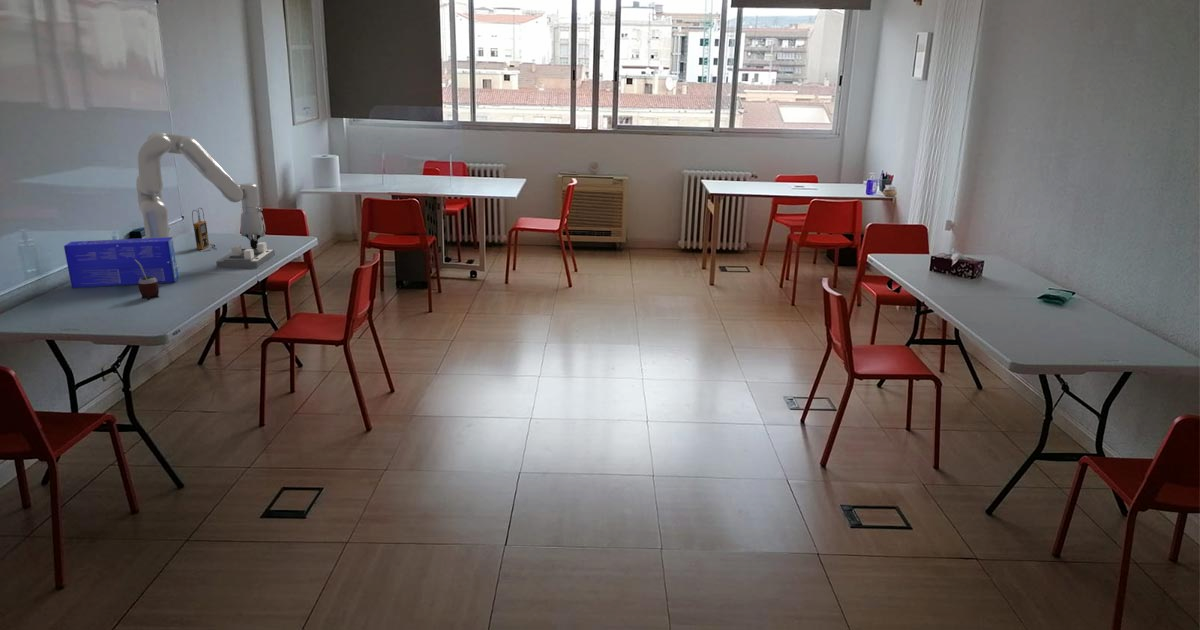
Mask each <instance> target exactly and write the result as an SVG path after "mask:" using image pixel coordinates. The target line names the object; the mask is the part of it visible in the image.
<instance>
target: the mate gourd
mask: <svg viewBox="0 0 1200 630" xmlns="http://www.w3.org/2000/svg"><path fill="white" fill-rule="evenodd" d="M135 261H136V262H137V263H138V264H139V266H140V268H141V270H142V272H143V275H144V277H143V278H140V280H139V282H138V285H137V287H138V289H139V293H140V295H141V299H147V301H149V300H152V298H153V299H154V298H155V299H156V298H157V299H158V298H159V297H160V296H159V293H160V292H159V291H160V287H159V286H160V285H159V284H160V283H158V281H157V279H156V278H155V277H146V275H145V273H144V271H143V268H142V265H141V264H140V263H139V262H138V261H137V260H136V259H135Z"/></svg>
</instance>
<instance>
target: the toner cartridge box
mask: <svg viewBox="0 0 1200 630" xmlns="http://www.w3.org/2000/svg"><path fill="white" fill-rule="evenodd" d="M63 248H64V255H65V259H66V265H67V270H68V275H69V281H70V285H71V288H72V289H85V288H86V289H87V288H101V287H102V288H103V287H122V286H138V282H139V280H140V278H143V277H144V275H143V272H142V270H141V268H140V266H139V264H138V263H137V262H136V261H135V259H136V260H137V261H138V262H139V263H140V264H141V265H142V268H143V271H144V273H145V275H146V277H155V278H156V279H157V281H158V284H168V283H169V284H170V283H171V284H174V283H176V282H177V280H179V272H178V271H179V270H178V268H177V264H178V263H177V259H176V252H175V245H174V239H173V237H172V236H170V237H164V238H146V237H144V238H126V239H125V238H124V239H121V238H120V239H102V240H101V239H100V240H82V241H79V240H78V241H77V240H76V241H75V240H74V241H69V242H68V243H67V244H65V245H63Z"/></svg>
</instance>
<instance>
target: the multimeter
mask: <svg viewBox="0 0 1200 630" xmlns="http://www.w3.org/2000/svg"><path fill="white" fill-rule="evenodd" d="M200 209H201V210H202V213H203V214H202V216H203V218H205V214H204V209H203V208H202V207H200ZM194 211H195V212H197V213H198V214H197V218H198V220H197V222H195V223H194V222H192V225H193V231H194V236H195V243H196V250H198V252H200V250H204V249H205V250H204V252H207V251H206V250H207V249H206V248H209V247H208V246H210V245H209V244H210V241H209V235H208V228H207V227H208V226H207V221H206V220H205V219H203V220H202V219H201V216H200V210H199V209H193V210H192V213H191V218H192V220H194V217H193V216H194ZM213 246H214V245H211V248H210V249H208V250H209V251H212V250H213V249H215V248H216V250H217V249H218V248H217V247H216V246H214V247H213Z"/></svg>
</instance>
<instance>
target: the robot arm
mask: <svg viewBox="0 0 1200 630" xmlns="http://www.w3.org/2000/svg"><path fill="white" fill-rule="evenodd" d="M146 139H147V140H146V141H145V142H144V143H143V144H142V145H141V147H140V148H139V151H138V153H137V165H138V175H137V177H136V181H135V182H136V192H137V201H138V208H139V210H140V212H141V214H142V219H143V225H144V226H143V227H144V233H145V238H164V237H171V233H170V225H169V213H168V209H167V206H166V204H165V203H164V202H163V198H162V197H163V195H162V194H163V193H162V190H163V189H164V183H163V179H162V170H161V159H162V156H163V155H164V154H166V153H168V154H174V155H175V154H177V155H182V156H183V157H184V158H185V160H187V161H188V162H189V163H190V164H191V166H193V167H194V168H195V169H196V170H197V172H199V174H201V175H202V177H204V178H205V179H206V180H207V181H209V182H210V183H212V185H213V186H214V187H216V188H217V189H218V190H219V191H220V192H221V194H222V196H223V197H224V198H225V199H226V200H228V201H229V202H231V203H239V202H241V211H242V212H241V215H240V232H241V236H242V237H245V238H247V239H248V241H249V244H250V245H249V246H250V248H251V249H257V244H258V243H259V241H258V240H259V239H260V238H263V237H266V233H265V232H266V224H265V219H264V215H263V212H262V211H263V209H264V208H263V207H261V206H260V200H259V187H258V184H256V183H252V182H251V183H250V182H248V183H246V182H245V183H236V182H235V181H234V179H232V177H231V176H230V175H229V174H228V173H227V172H226V171H225V170H224V169H223V168H222V166H221V165H220V164H219V163H218V162H217V161H216V160H215V158H213V157H212V156H211V154H210V153H209V152H208V151H207V150H206V149H205V148H204V147H203V146H202V145H201V144H200V142H199V141H198V140H196V139H195V138H193V137H190V136H188V135H187V136H186V135H180V134H173V133H166V132H159V131H156V132H152V133H150V134H149V135H148V137H147V138H146ZM176 264H177V269H178V268H179V264H178V263H176Z"/></svg>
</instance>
